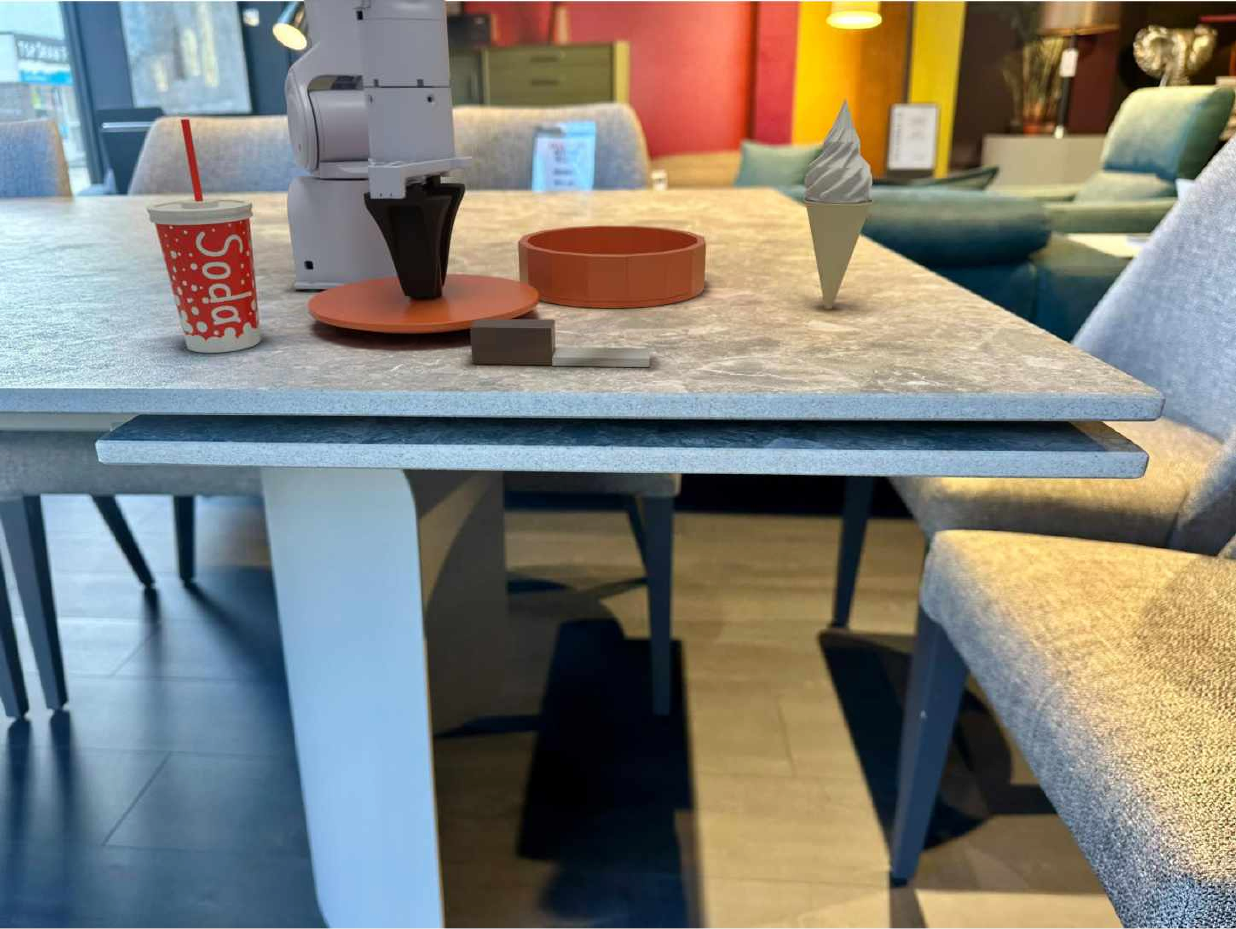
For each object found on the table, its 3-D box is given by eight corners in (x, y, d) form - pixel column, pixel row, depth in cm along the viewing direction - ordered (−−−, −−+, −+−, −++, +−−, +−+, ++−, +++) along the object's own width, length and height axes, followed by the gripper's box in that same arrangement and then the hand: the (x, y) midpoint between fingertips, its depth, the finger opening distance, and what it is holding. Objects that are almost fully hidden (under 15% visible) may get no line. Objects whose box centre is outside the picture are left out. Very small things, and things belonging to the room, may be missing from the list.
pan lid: (272, 339, 59) (260, 260, 57) (352, 286, 74) (344, 222, 72) (522, 342, 58) (518, 262, 56) (551, 288, 73) (549, 224, 71)
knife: (471, 364, 56) (469, 326, 55) (478, 355, 58) (476, 318, 57) (649, 367, 55) (650, 329, 55) (650, 357, 58) (650, 320, 57)
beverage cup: (169, 359, 57) (121, 122, 51) (178, 336, 62) (135, 118, 57) (273, 350, 59) (237, 120, 53) (272, 328, 64) (240, 116, 59)
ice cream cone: (782, 304, 71) (797, 98, 65) (837, 299, 73) (856, 97, 67) (817, 318, 67) (836, 99, 61) (875, 313, 68) (899, 99, 62)
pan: (508, 307, 70) (505, 255, 69) (534, 268, 84) (533, 224, 83) (707, 309, 69) (709, 256, 68) (700, 270, 84) (701, 226, 82)
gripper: (442, 88, 53) (458, 315, 59) (487, 86, 67) (496, 271, 72) (324, 88, 54) (351, 314, 59) (392, 86, 67) (409, 270, 72)
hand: (424, 290), depth 66 cm, fingers closed on pan lid, 2 cm apart
